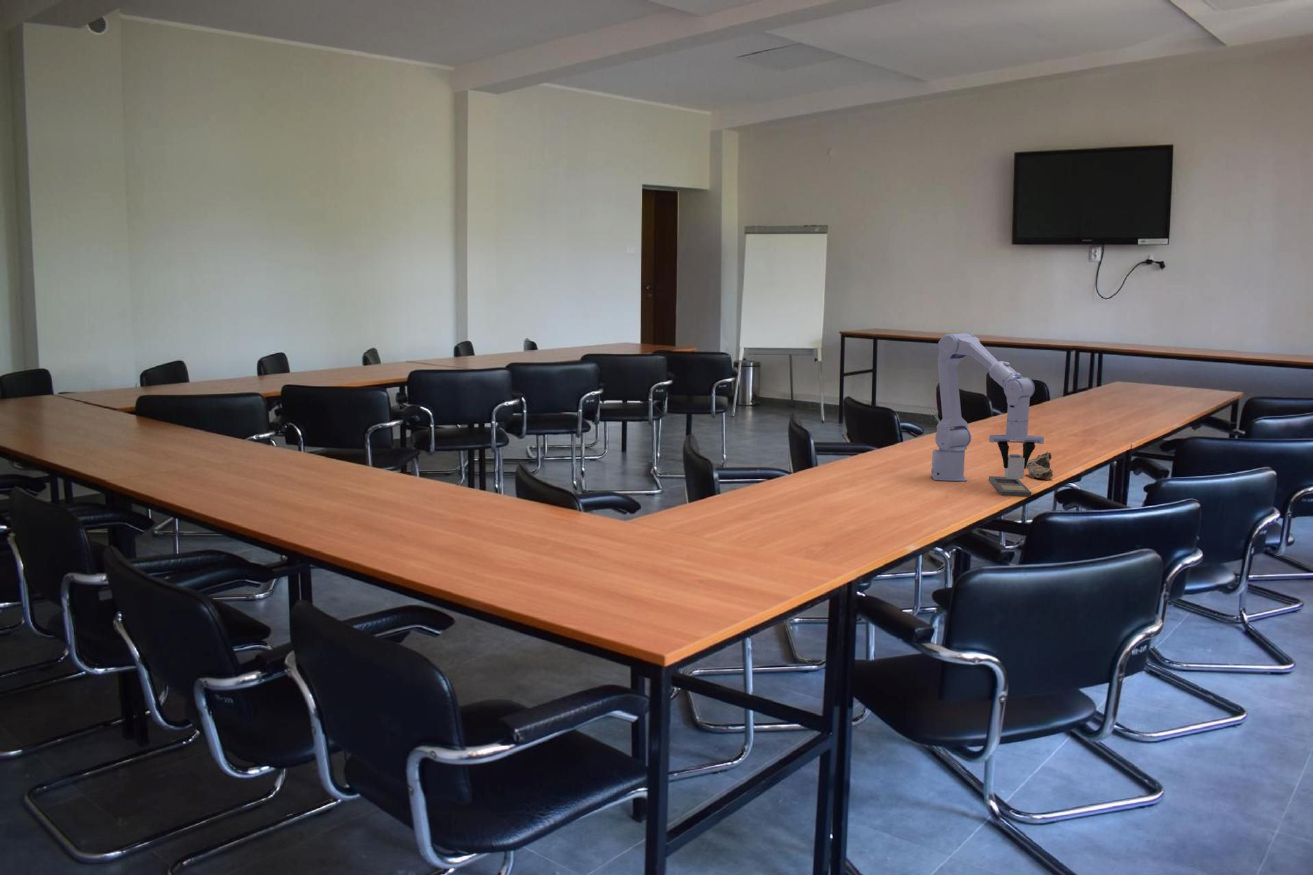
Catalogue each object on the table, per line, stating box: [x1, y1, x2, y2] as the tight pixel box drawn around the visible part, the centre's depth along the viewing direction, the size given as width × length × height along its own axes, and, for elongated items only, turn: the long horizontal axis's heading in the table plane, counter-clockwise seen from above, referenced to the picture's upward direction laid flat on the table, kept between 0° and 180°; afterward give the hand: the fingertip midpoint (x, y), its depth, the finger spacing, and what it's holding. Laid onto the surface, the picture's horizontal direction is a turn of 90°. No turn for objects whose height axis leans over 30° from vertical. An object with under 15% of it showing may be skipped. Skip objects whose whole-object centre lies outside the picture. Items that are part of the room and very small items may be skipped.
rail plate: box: [988, 475, 1032, 498], centre depth 302 cm, size 8×22×1 cm, turn 172°
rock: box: [1026, 451, 1054, 481], centre depth 318 cm, size 9×7×10 cm
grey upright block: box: [1004, 453, 1025, 480], centre depth 295 cm, size 4×4×6 cm
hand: (1014, 467), depth 295 cm, fingers closed on grey upright block, 4 cm apart
